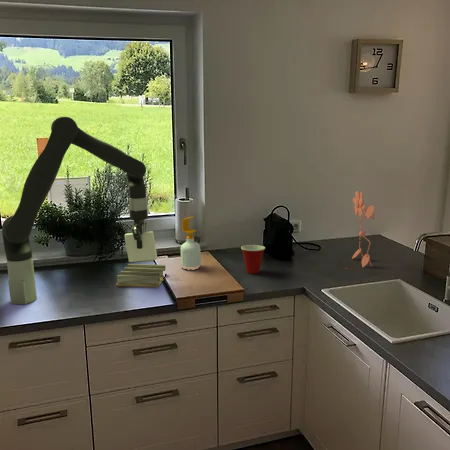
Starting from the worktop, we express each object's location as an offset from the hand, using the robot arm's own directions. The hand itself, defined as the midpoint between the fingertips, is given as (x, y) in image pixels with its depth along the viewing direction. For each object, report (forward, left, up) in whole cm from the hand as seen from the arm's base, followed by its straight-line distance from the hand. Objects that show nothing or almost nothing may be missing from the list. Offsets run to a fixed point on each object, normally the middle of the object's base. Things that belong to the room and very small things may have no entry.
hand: (140, 247), depth 208 cm
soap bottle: (+18, -18, -15) cm, 30 cm away
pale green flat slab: (0, -1, -6) cm, 6 cm away
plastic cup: (+15, -47, -15) cm, 52 cm away
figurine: (+31, -94, -15) cm, 100 cm away
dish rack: (0, 0, -15) cm, 15 cm away
